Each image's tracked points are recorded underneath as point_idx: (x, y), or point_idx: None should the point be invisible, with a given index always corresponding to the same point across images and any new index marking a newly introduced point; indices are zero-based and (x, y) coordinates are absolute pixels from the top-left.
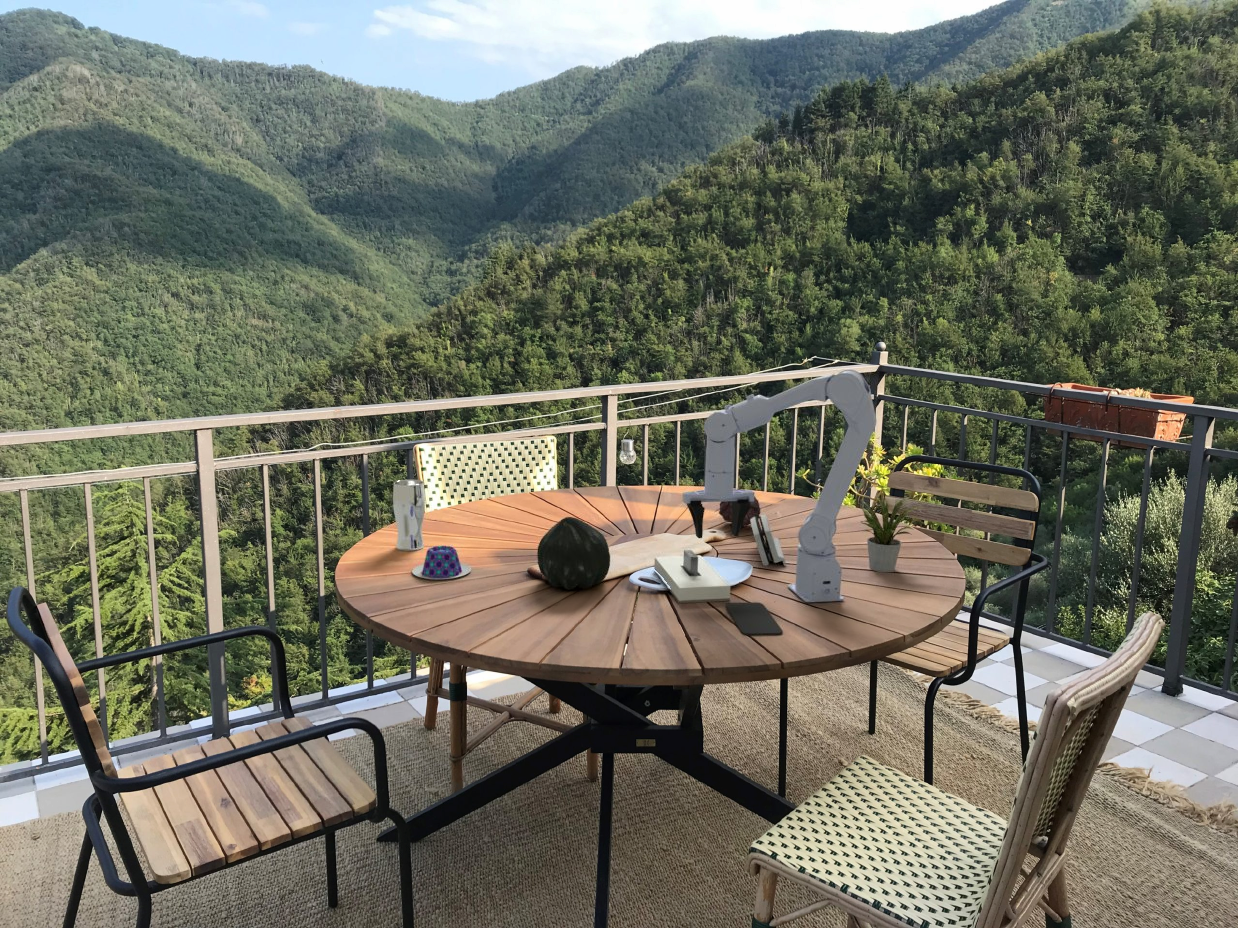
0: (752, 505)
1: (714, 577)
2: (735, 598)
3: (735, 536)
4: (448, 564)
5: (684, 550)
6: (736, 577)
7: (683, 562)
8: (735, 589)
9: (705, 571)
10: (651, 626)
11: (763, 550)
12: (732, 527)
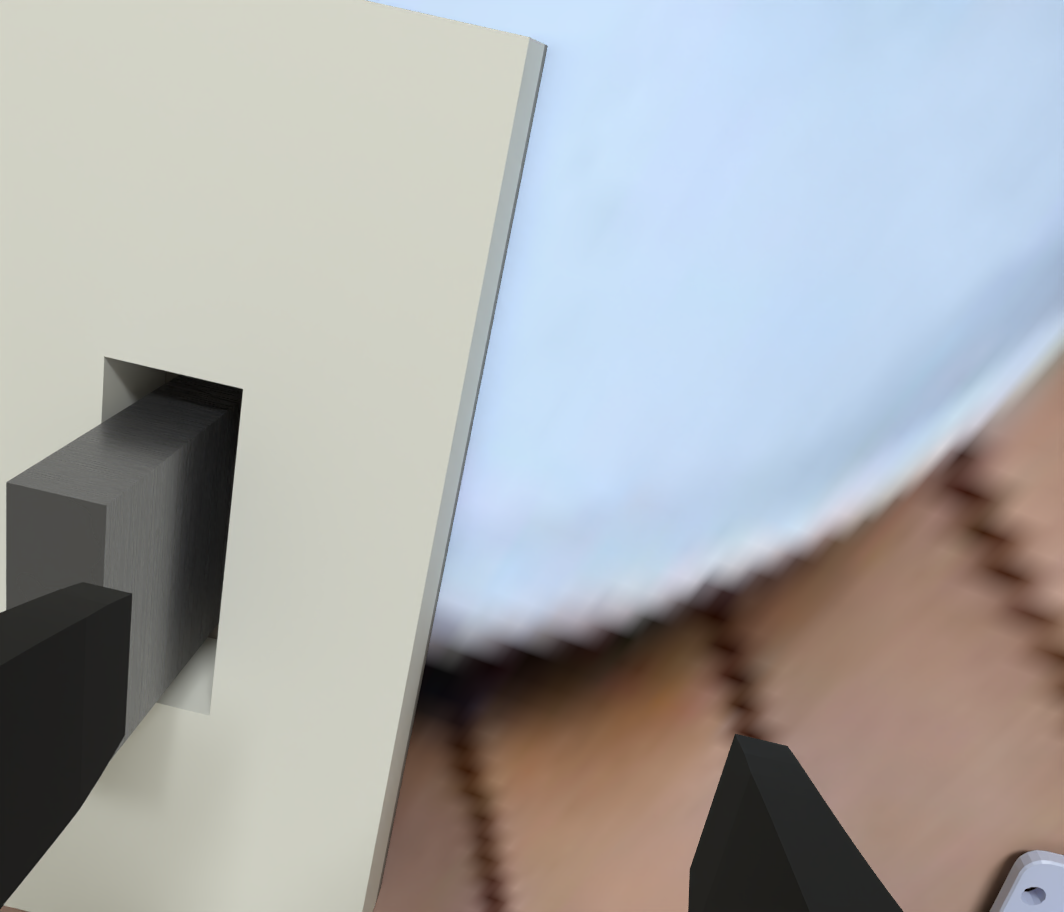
0: None
1: (309, 791)
2: (448, 866)
3: (692, 879)
4: None
5: (11, 494)
6: (768, 457)
7: (98, 426)
8: (560, 717)
9: (299, 624)
10: None
11: None
12: (747, 836)
